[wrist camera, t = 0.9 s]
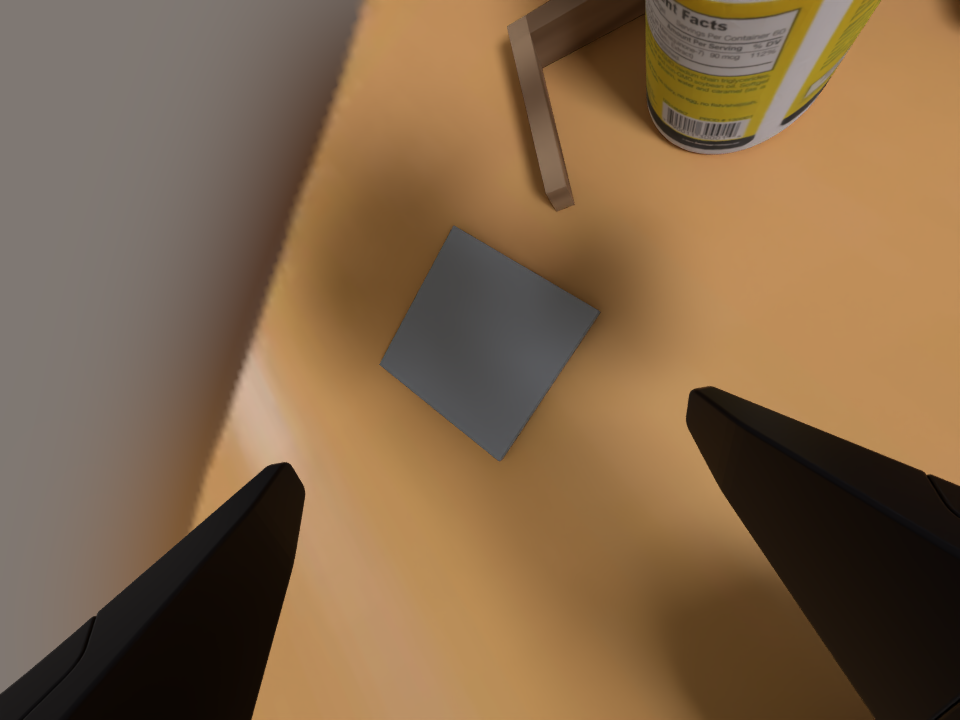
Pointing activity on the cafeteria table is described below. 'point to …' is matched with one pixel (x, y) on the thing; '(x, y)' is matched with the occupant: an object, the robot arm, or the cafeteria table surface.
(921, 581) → the robot arm
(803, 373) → the cafeteria table surface
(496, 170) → the cafeteria table surface
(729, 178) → the cafeteria table surface
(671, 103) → the supplement bottle
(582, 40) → the u-shaped wooden frame
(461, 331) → the pad
